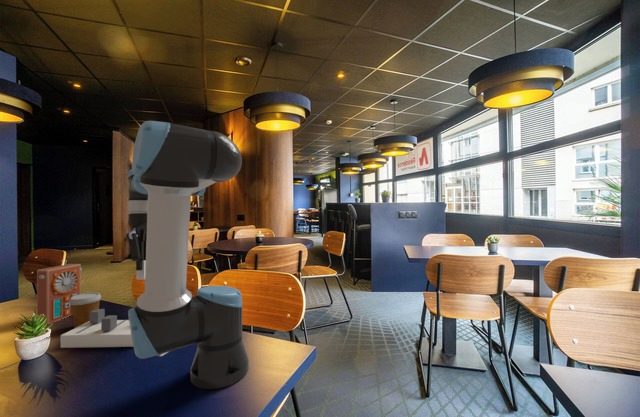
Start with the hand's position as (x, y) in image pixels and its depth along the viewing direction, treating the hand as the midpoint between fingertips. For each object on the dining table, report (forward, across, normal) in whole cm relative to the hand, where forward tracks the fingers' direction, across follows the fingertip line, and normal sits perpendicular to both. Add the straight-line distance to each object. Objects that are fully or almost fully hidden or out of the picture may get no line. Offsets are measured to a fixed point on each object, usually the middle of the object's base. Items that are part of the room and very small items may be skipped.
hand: (141, 278), depth 97 cm
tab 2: (+16, +3, -9) cm, 19 cm away
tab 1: (+16, -4, -18) cm, 24 cm away
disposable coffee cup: (+20, -10, -26) cm, 35 cm away
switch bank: (+20, +1, -9) cm, 22 cm away
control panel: (+20, -20, -44) cm, 52 cm away
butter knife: (+22, +14, +13) cm, 29 cm away
